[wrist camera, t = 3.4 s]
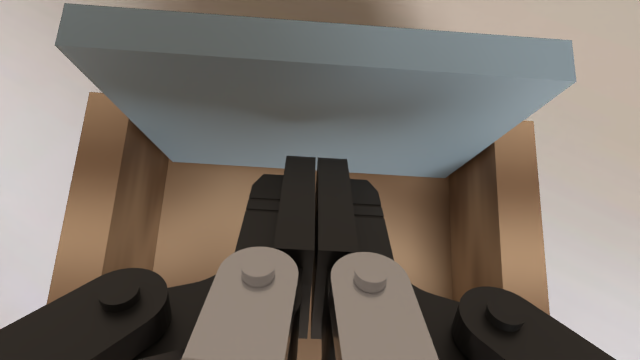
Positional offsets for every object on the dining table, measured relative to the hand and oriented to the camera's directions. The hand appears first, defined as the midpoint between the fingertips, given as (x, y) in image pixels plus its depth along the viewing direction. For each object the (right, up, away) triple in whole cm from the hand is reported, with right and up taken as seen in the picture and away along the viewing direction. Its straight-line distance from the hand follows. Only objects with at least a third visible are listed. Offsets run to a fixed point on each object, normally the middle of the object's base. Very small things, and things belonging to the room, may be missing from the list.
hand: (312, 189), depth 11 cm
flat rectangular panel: (0, +2, +10) cm, 10 cm away
